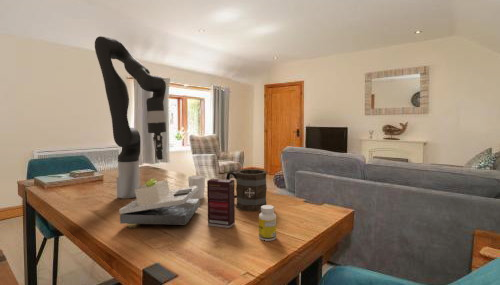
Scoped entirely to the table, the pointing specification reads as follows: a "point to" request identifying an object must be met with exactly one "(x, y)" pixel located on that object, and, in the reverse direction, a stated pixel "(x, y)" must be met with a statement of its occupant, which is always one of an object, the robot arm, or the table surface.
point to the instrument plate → (158, 196)
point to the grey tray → (162, 215)
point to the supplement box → (221, 202)
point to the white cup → (199, 182)
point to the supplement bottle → (267, 223)
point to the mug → (250, 189)
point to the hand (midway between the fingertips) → (159, 158)
